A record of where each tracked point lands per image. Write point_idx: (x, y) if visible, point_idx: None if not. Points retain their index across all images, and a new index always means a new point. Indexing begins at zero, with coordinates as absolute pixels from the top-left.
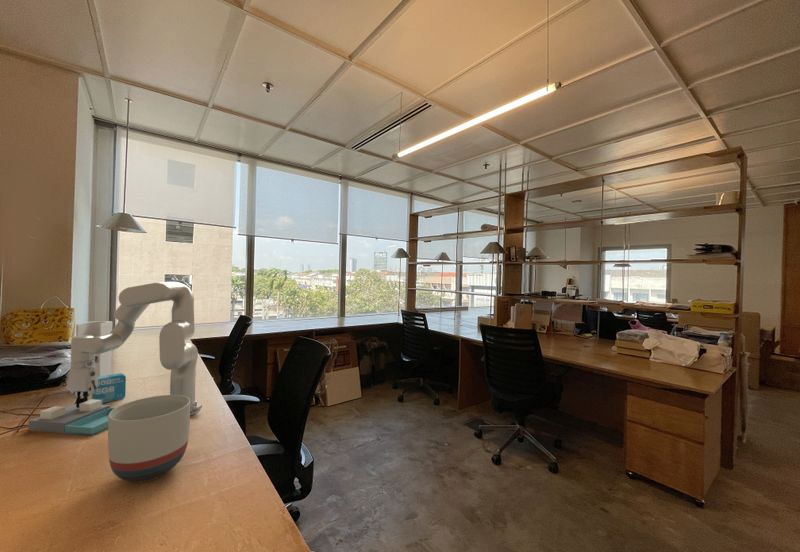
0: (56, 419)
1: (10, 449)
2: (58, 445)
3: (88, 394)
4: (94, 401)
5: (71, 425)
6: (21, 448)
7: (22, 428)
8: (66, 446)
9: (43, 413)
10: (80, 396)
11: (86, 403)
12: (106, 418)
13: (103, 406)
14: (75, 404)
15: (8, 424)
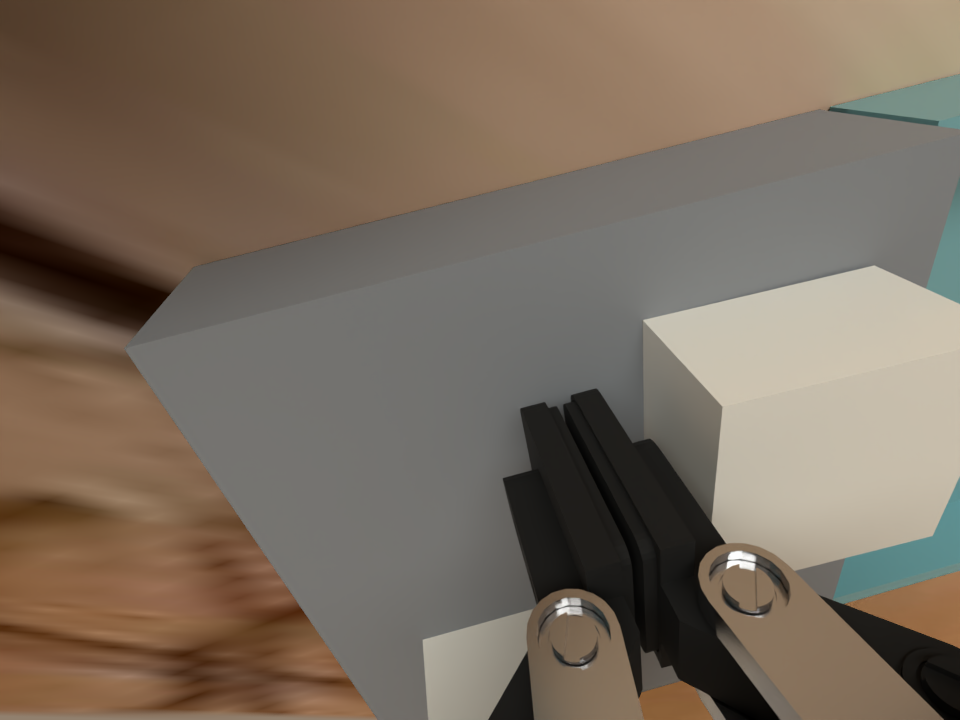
0: (653, 656)
1: (645, 713)
2: (881, 604)
3: (874, 640)
4: (912, 444)
5: (864, 590)
6: (694, 690)
7: (289, 664)
8: (942, 588)
9: None
10: (725, 713)
11: (830, 541)
12: (938, 268)
13: (887, 236)
14: (206, 409)
15: (23, 704)
